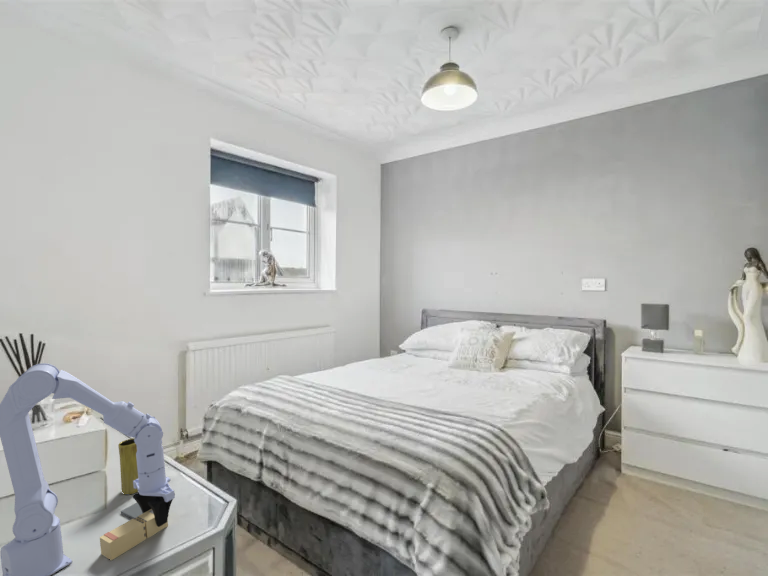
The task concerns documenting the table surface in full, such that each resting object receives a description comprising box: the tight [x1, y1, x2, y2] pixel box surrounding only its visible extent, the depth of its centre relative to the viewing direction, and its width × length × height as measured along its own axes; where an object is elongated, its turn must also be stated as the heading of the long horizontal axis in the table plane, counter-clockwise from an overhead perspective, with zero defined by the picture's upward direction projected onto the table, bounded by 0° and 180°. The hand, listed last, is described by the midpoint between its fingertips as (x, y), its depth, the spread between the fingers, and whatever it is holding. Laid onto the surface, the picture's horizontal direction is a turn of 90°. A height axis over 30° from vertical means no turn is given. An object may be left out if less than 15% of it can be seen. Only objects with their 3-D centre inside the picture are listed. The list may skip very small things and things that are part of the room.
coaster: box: [120, 502, 143, 520], centre depth 104 cm, size 7×7×1 cm
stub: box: [136, 509, 169, 539], centre depth 95 cm, size 5×4×4 cm
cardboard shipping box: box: [99, 518, 147, 562], centre depth 90 cm, size 8×4×4 cm, turn 150°
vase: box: [118, 437, 138, 495], centre depth 114 cm, size 6×6×14 cm
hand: (156, 521), depth 96 cm, fingers closed on stub, 4 cm apart
